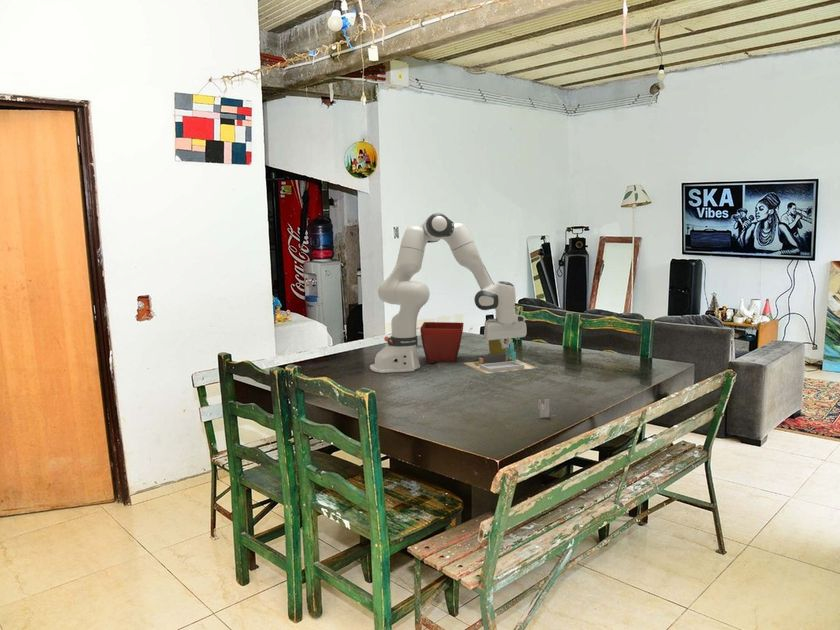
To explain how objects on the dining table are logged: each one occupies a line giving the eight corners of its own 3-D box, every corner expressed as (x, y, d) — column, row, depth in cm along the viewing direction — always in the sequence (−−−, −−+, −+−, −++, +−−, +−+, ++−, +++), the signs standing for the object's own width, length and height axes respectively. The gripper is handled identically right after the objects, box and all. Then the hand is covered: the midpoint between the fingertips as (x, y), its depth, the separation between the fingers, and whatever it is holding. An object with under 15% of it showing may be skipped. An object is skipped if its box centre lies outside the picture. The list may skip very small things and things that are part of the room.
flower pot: (509, 356, 323) (509, 337, 322) (506, 360, 315) (507, 341, 313) (490, 355, 325) (491, 337, 324) (488, 359, 317) (488, 340, 315)
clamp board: (485, 376, 284) (485, 370, 283) (462, 365, 304) (462, 359, 304) (538, 370, 293) (538, 364, 293) (512, 360, 314) (512, 354, 313)
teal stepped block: (511, 362, 302) (512, 344, 301) (505, 360, 307) (505, 341, 306) (515, 362, 303) (516, 343, 301) (509, 359, 308) (509, 341, 307)
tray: (489, 372, 285) (489, 368, 285) (479, 368, 294) (479, 364, 293) (524, 368, 292) (524, 365, 292) (513, 364, 300) (513, 360, 300)
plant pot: (463, 356, 323) (463, 322, 320) (462, 365, 304) (462, 328, 301) (424, 356, 325) (423, 321, 322) (420, 365, 306) (419, 328, 303)
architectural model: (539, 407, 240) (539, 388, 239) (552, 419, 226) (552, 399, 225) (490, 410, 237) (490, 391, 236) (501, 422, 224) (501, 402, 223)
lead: (481, 365, 298) (481, 356, 297) (478, 364, 301) (478, 355, 300) (508, 362, 303) (508, 354, 302) (504, 361, 306) (504, 353, 305)
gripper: (488, 320, 294) (488, 351, 296) (528, 317, 302) (528, 347, 304) (481, 318, 300) (481, 348, 302) (521, 315, 308) (520, 345, 310)
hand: (505, 348), depth 303 cm, fingers closed
